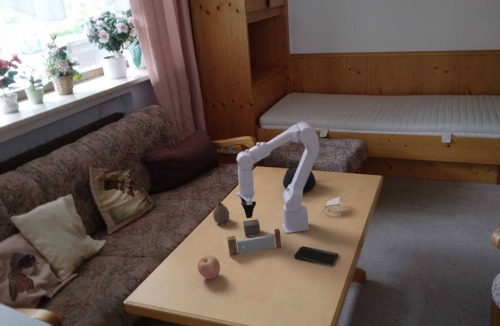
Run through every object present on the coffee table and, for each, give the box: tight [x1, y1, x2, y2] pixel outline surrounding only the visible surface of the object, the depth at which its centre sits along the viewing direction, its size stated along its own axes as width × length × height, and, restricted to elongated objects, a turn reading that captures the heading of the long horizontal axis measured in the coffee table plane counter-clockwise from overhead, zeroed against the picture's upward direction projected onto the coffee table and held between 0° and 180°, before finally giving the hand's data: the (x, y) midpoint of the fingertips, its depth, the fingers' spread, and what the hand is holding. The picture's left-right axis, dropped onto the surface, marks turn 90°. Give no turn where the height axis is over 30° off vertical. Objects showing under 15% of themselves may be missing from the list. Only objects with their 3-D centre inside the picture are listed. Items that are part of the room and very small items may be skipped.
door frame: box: [226, 228, 282, 257], centre depth 174 cm, size 20×2×7 cm, turn 99°
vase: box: [212, 202, 230, 225], centre depth 196 cm, size 7×7×9 cm
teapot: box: [282, 164, 316, 194], centre depth 220 cm, size 25×16×12 cm, turn 157°
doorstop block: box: [242, 218, 261, 237], centre depth 186 cm, size 6×4×5 cm, turn 99°
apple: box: [197, 254, 221, 280], centre depth 161 cm, size 8×8×8 cm
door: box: [236, 234, 276, 254], centre depth 174 cm, size 14×2×5 cm, turn 99°
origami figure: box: [321, 196, 345, 216], centre depth 197 cm, size 12×8×5 cm
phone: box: [293, 245, 340, 268], centre depth 167 cm, size 8×1×15 cm
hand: (247, 213), depth 184 cm, fingers open, 7 cm apart
